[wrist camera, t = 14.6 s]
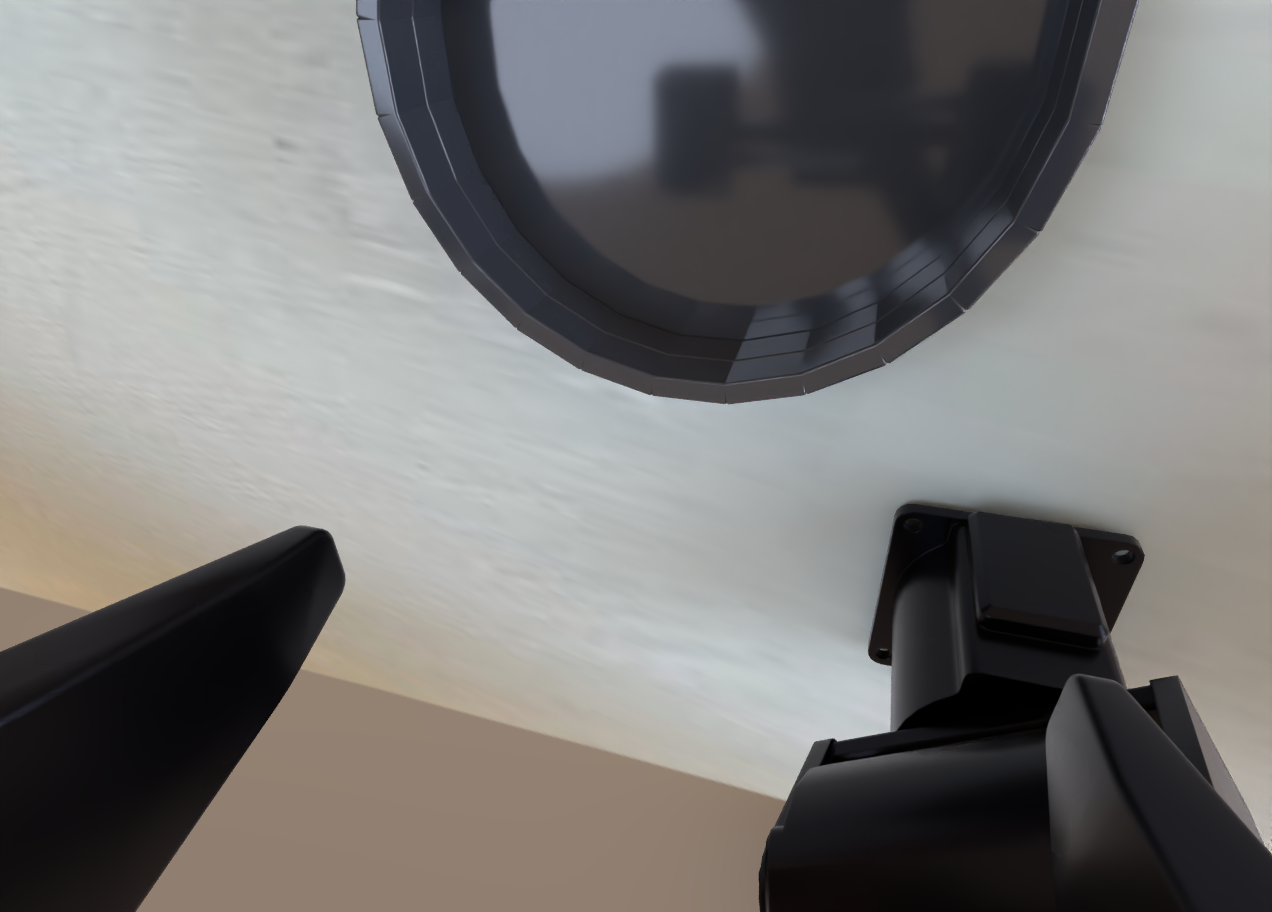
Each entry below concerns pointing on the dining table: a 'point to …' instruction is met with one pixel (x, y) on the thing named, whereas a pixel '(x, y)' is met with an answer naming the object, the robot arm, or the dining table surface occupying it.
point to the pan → (738, 168)
